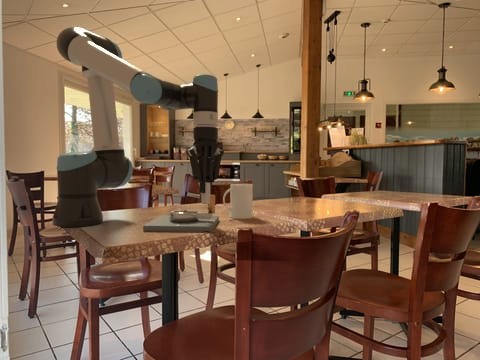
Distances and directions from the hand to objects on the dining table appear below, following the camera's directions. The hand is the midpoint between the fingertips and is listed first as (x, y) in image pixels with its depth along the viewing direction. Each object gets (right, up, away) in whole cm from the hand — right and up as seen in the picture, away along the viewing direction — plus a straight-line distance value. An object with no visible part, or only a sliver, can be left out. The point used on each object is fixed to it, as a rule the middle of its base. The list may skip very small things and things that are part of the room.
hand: (205, 203), depth 114 cm
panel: (-7, -7, +3) cm, 11 cm away
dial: (-4, -5, +3) cm, 7 cm away
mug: (+10, -7, +19) cm, 23 cm away
